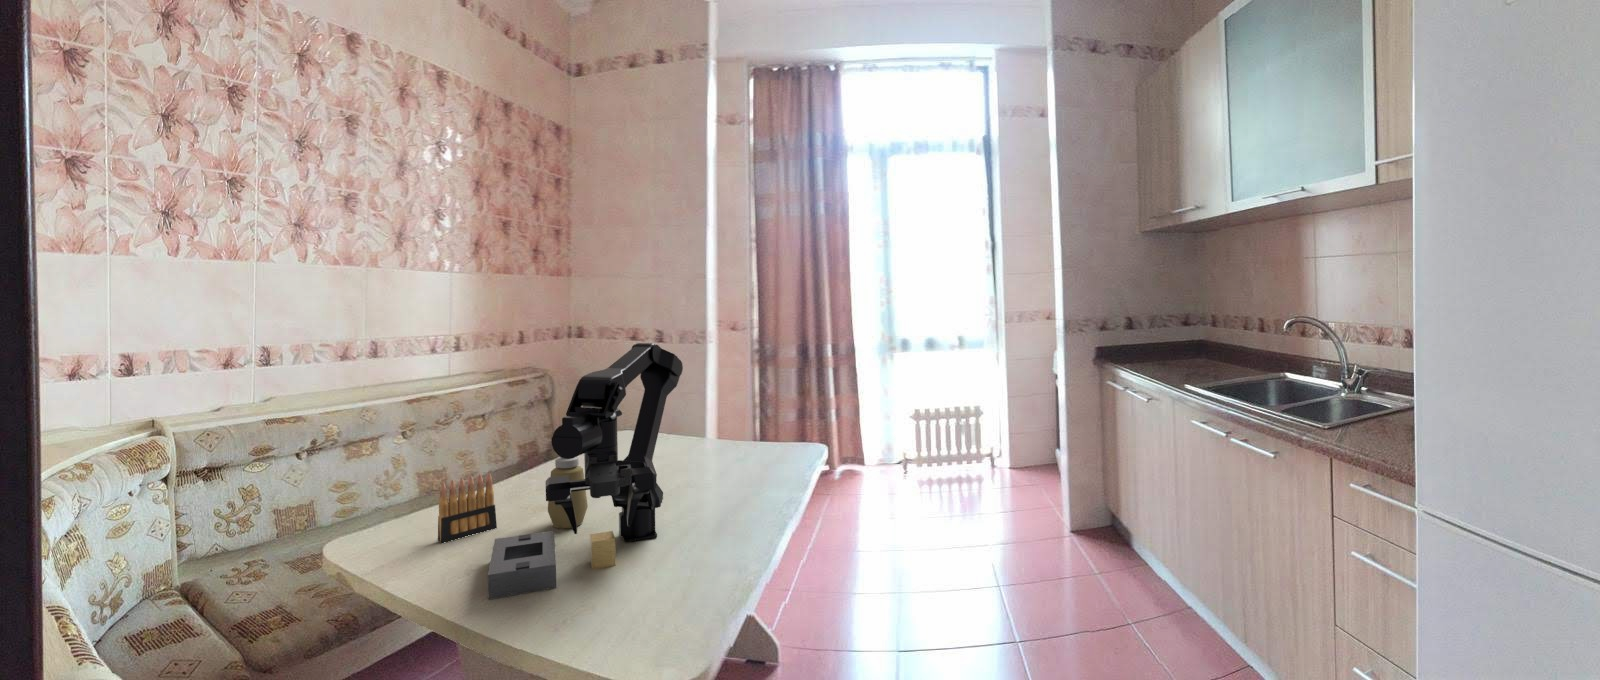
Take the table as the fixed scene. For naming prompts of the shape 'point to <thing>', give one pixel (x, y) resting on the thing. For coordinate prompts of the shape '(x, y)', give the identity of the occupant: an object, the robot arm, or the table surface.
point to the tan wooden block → (602, 550)
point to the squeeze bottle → (578, 497)
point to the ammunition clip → (466, 510)
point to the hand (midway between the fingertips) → (602, 529)
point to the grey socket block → (522, 565)
